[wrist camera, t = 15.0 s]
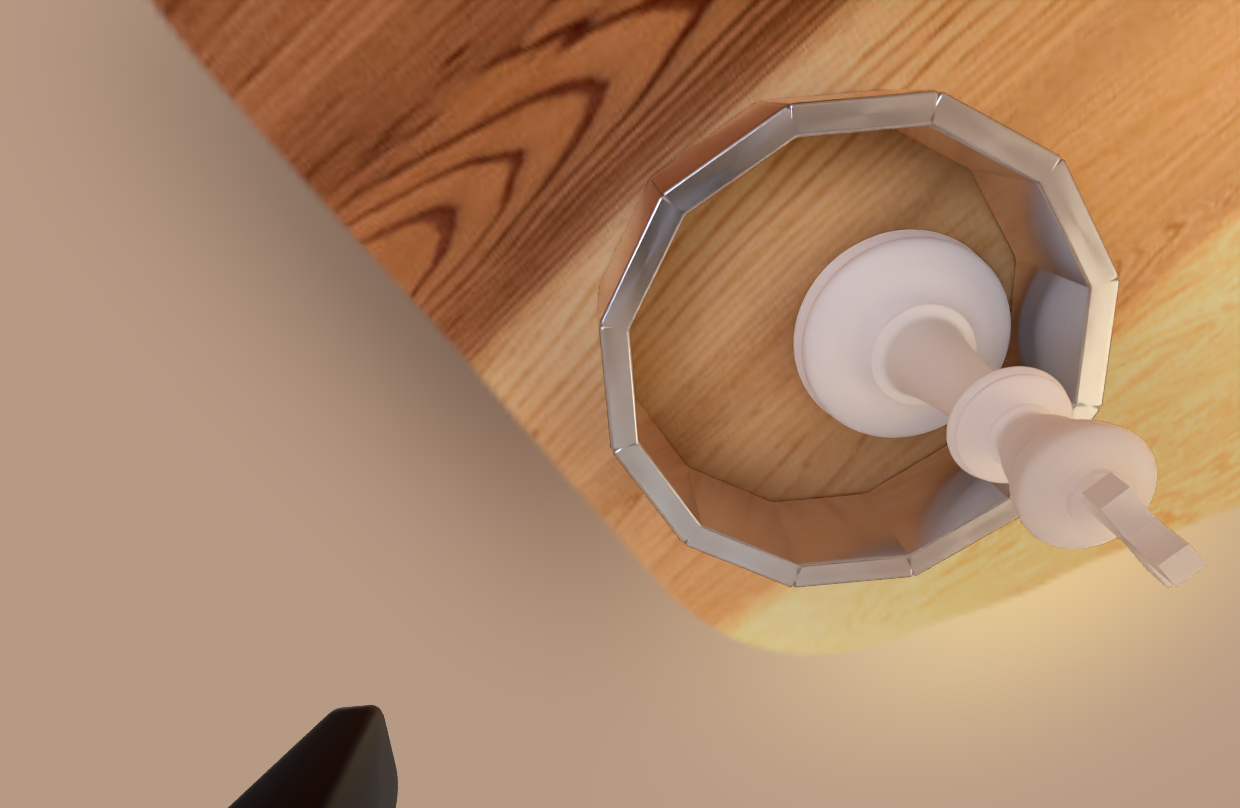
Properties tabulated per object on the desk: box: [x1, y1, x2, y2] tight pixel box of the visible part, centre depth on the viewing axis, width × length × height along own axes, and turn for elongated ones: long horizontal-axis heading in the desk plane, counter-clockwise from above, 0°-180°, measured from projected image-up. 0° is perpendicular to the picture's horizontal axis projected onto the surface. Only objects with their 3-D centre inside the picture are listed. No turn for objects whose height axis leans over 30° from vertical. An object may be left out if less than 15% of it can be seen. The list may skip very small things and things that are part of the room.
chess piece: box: [794, 229, 1207, 588], centre depth 15 cm, size 5×5×10 cm
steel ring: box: [598, 90, 1119, 587], centre depth 18 cm, size 10×10×3 cm
